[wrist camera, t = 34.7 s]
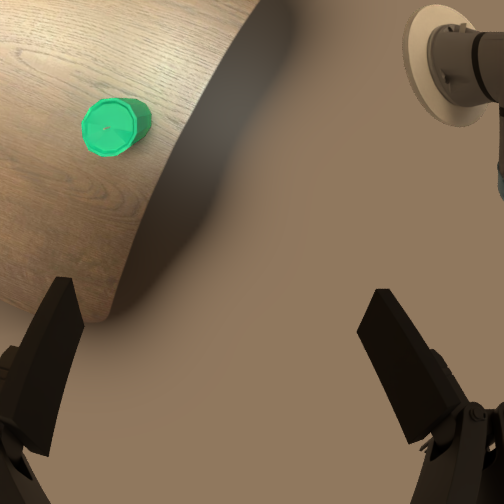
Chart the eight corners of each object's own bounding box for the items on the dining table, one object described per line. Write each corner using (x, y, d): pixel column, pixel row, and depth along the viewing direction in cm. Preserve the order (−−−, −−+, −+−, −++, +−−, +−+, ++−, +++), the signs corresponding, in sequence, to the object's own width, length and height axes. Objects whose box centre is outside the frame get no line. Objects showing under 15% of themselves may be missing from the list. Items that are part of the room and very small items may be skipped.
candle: (146, 92, 33) (126, 88, 23) (156, 135, 36) (142, 149, 26) (103, 107, 33) (68, 110, 22) (114, 149, 36) (84, 168, 25)
